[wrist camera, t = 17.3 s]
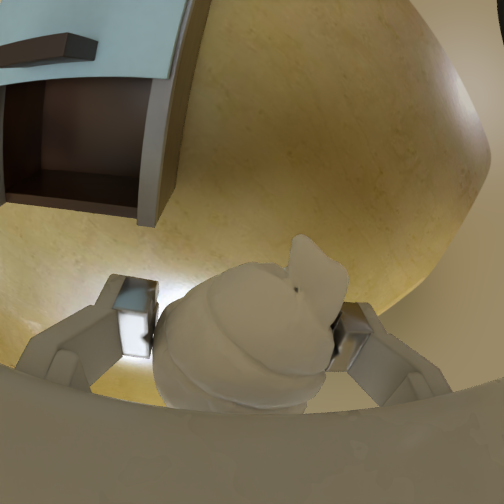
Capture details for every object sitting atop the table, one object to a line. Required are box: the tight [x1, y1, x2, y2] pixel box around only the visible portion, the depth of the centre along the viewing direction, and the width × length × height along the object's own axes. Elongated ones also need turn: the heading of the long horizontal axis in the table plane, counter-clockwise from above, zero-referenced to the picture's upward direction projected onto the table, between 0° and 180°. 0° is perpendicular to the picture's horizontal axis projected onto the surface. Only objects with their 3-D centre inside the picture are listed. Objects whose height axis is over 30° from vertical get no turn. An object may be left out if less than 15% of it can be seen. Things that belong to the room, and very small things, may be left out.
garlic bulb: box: [152, 234, 349, 414], centre depth 9 cm, size 6×6×5 cm
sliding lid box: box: [0, 0, 212, 228], centre depth 15 cm, size 20×14×8 cm
